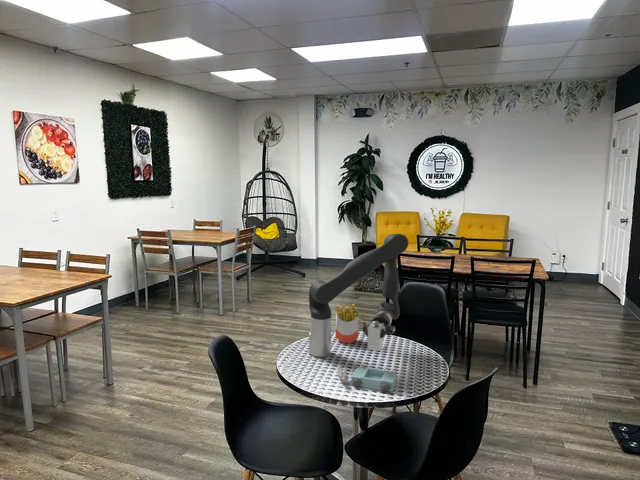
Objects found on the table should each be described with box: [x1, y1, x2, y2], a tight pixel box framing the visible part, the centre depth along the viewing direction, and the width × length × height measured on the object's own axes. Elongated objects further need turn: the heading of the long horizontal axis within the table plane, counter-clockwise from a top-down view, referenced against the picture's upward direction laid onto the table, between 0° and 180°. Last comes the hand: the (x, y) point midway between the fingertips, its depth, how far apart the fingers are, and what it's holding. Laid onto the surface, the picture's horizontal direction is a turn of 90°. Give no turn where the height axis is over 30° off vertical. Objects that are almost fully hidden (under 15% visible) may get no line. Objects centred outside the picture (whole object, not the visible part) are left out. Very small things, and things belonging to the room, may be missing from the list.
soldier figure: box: [337, 365, 351, 385], centre depth 170 cm, size 8×5×12 cm
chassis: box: [350, 366, 398, 394], centre depth 168 cm, size 16×12×4 cm
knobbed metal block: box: [367, 321, 384, 352], centre depth 173 cm, size 5×6×11 cm
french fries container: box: [335, 303, 360, 344], centre depth 211 cm, size 5×11×18 cm, turn 88°
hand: (374, 335), depth 170 cm, fingers closed on knobbed metal block, 4 cm apart
